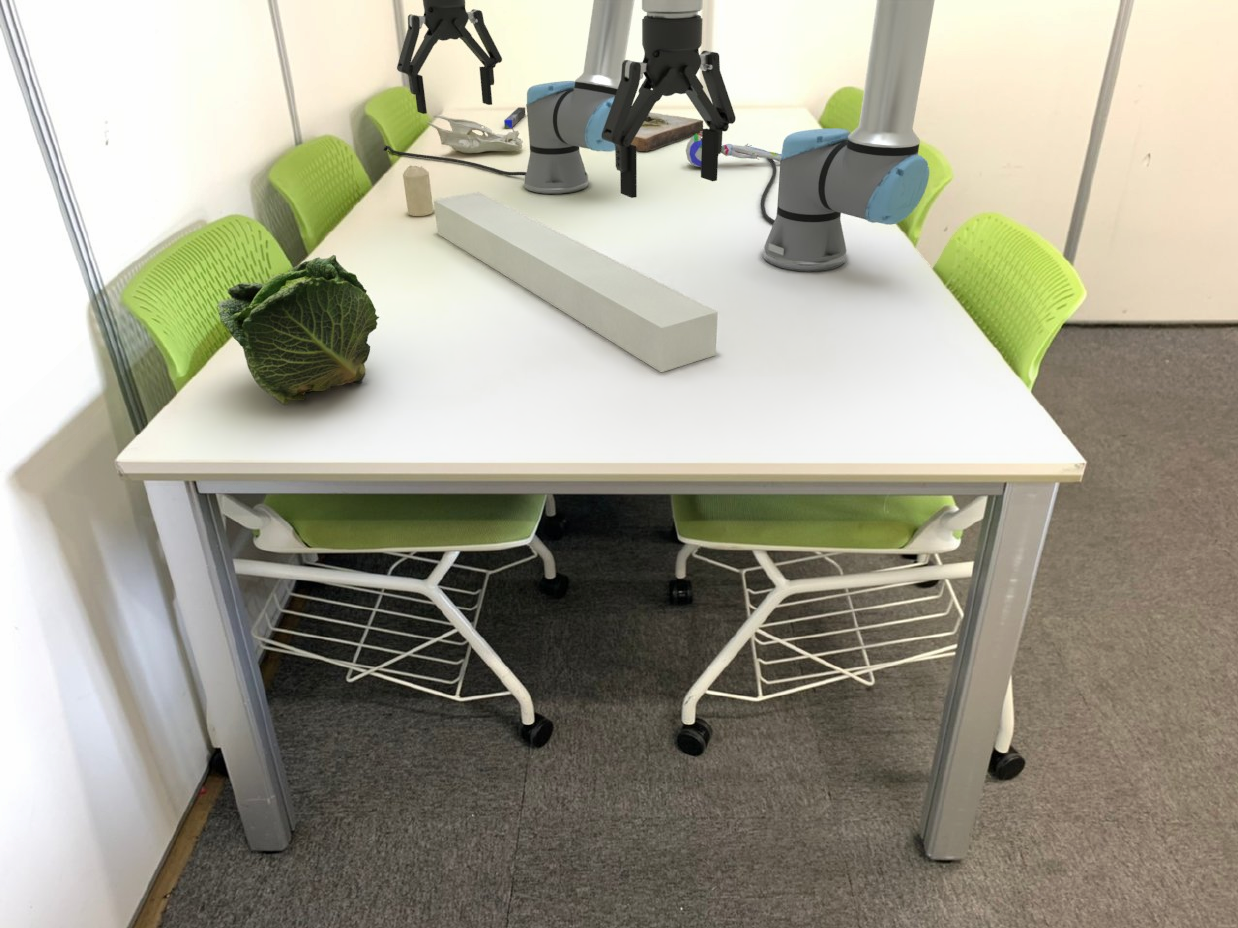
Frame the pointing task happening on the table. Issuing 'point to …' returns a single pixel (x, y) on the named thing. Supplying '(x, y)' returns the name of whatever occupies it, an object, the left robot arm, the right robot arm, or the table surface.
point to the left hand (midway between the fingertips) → (455, 108)
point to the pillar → (514, 117)
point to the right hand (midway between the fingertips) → (669, 187)
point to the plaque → (664, 131)
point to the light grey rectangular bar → (582, 282)
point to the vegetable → (302, 328)
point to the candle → (418, 191)
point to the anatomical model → (476, 137)
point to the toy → (726, 151)
